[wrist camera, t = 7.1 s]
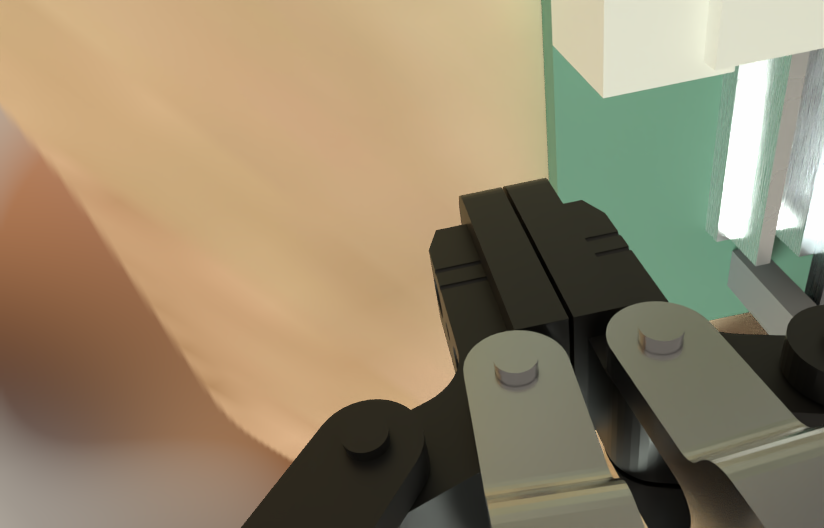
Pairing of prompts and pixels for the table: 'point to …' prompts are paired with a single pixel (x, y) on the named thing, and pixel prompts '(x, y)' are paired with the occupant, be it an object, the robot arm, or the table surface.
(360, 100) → the table surface
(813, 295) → the thin grey panel
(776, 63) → the white slotted block
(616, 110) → the board
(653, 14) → the latch
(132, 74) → the table surface
